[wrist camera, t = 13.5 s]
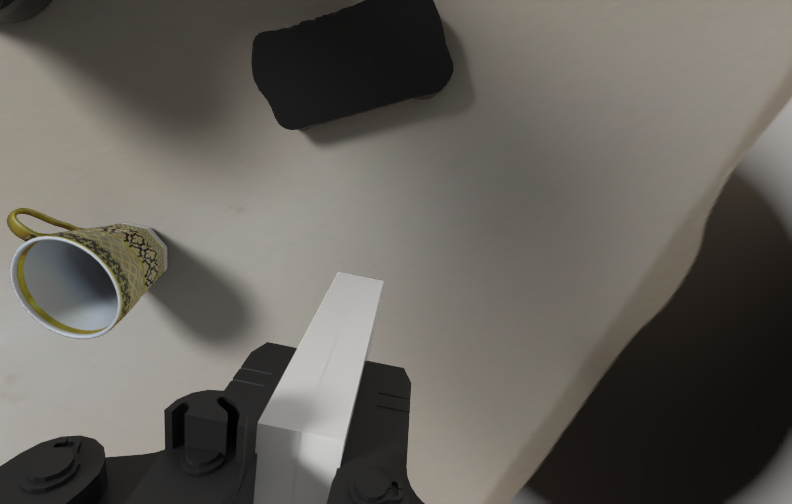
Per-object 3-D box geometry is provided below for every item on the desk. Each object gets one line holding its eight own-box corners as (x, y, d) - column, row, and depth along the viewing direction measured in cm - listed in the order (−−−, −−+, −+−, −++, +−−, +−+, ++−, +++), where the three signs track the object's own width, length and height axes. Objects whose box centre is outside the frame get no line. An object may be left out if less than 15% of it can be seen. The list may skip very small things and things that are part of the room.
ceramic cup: (202, 264, 45) (143, 307, 36) (141, 306, 47) (71, 356, 38) (118, 165, 42) (28, 183, 32) (57, 216, 44) (-42, 246, 35)
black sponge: (431, -12, 35) (431, -24, 31) (451, 91, 37) (453, 90, 34) (257, 43, 37) (239, 37, 34) (287, 136, 40) (274, 139, 36)
